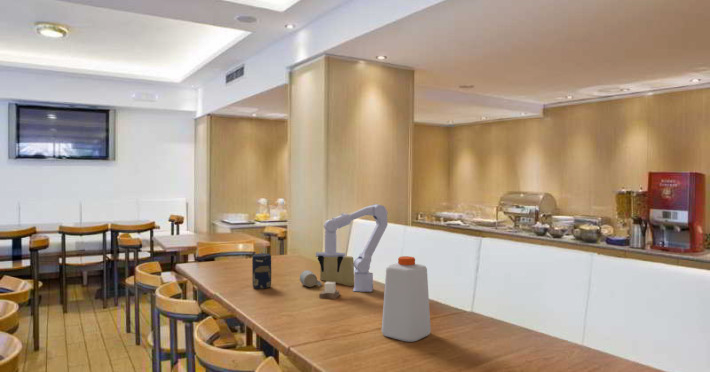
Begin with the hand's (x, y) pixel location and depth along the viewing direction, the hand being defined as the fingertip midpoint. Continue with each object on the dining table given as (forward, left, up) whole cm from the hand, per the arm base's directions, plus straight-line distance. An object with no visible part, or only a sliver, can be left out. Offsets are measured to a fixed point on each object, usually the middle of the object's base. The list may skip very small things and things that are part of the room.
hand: (330, 271), depth 237 cm
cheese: (-2, -21, -10) cm, 23 cm away
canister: (+36, -4, -10) cm, 38 cm away
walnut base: (-1, +9, -10) cm, 14 cm away
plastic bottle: (-37, +60, -10) cm, 71 cm away
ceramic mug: (+12, -11, -10) cm, 19 cm away
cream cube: (-1, +9, -8) cm, 12 cm away
